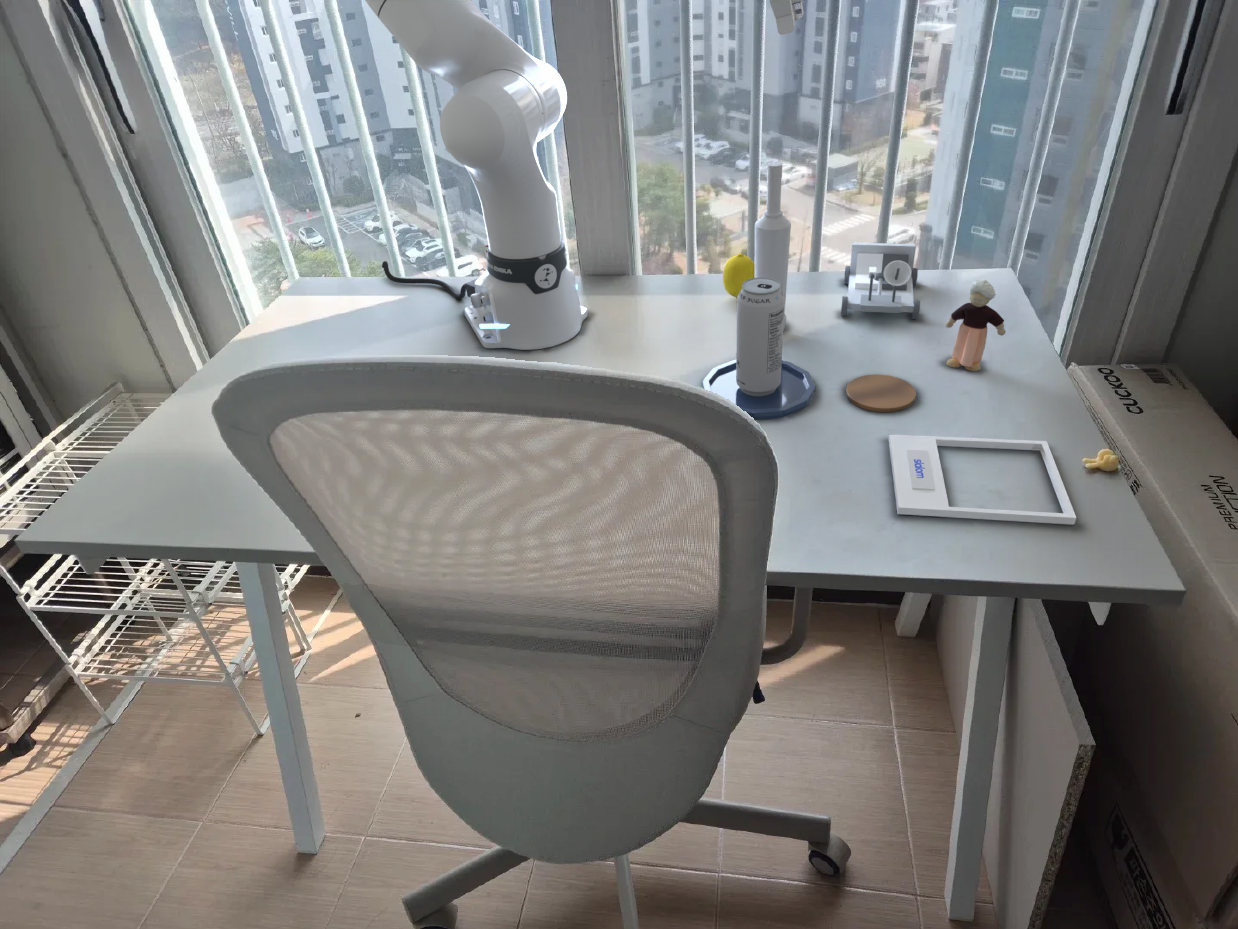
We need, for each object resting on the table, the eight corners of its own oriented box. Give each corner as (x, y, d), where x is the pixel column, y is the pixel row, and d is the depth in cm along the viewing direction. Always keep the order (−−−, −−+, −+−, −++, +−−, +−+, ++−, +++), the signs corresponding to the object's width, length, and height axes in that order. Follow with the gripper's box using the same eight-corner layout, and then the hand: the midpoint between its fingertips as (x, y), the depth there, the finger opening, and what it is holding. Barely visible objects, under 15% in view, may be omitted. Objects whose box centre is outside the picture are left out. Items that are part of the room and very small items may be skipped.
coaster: (831, 392, 116) (832, 388, 116) (879, 371, 120) (879, 367, 119) (881, 419, 110) (882, 415, 109) (930, 397, 113) (930, 393, 113)
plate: (681, 387, 120) (681, 379, 119) (764, 354, 126) (764, 347, 125) (750, 432, 109) (751, 424, 109) (837, 395, 115) (837, 387, 115)
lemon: (723, 292, 145) (723, 247, 140) (756, 292, 144) (757, 246, 140) (721, 306, 140) (722, 260, 136) (756, 306, 140) (757, 259, 135)
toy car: (927, 268, 123) (845, 265, 126) (918, 330, 129) (839, 326, 132) (923, 224, 138) (849, 223, 140) (915, 282, 143) (844, 279, 146)
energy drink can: (746, 372, 121) (748, 272, 112) (786, 381, 118) (792, 279, 109) (728, 392, 117) (729, 290, 108) (770, 402, 114) (774, 297, 105)
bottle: (785, 334, 131) (793, 169, 116) (751, 333, 132) (754, 169, 117) (786, 320, 135) (794, 158, 120) (753, 319, 136) (757, 158, 122)
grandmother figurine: (938, 369, 119) (952, 284, 112) (939, 356, 122) (953, 272, 115) (997, 375, 117) (1016, 288, 109) (997, 362, 120) (1015, 277, 112)
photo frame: (889, 433, 105) (1047, 439, 101) (888, 440, 105) (1044, 447, 102) (898, 506, 93) (1076, 516, 90) (897, 514, 94) (1074, 524, 90)
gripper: (754, -108, 100) (775, 20, 107) (724, -102, 84) (752, 48, 91) (808, -126, 98) (826, 6, 105) (788, -124, 82) (812, 32, 89)
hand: (791, 25), depth 98 cm, fingers open, 8 cm apart
